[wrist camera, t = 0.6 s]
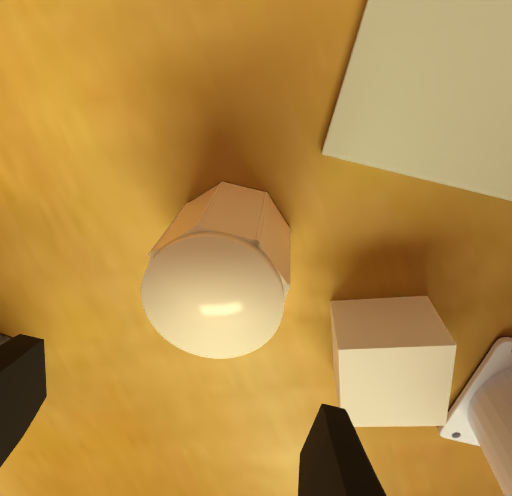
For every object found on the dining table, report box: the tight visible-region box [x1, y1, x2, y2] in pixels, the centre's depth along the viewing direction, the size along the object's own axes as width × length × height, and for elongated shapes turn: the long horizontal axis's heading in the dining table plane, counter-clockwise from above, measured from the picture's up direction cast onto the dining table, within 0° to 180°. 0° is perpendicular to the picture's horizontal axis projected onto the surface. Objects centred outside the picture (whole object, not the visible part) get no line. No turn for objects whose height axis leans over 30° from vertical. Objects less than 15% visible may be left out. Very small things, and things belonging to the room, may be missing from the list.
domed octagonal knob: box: [141, 181, 291, 359], centre depth 16 cm, size 5×5×6 cm
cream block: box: [330, 296, 457, 427], centre depth 19 cm, size 5×5×4 cm
